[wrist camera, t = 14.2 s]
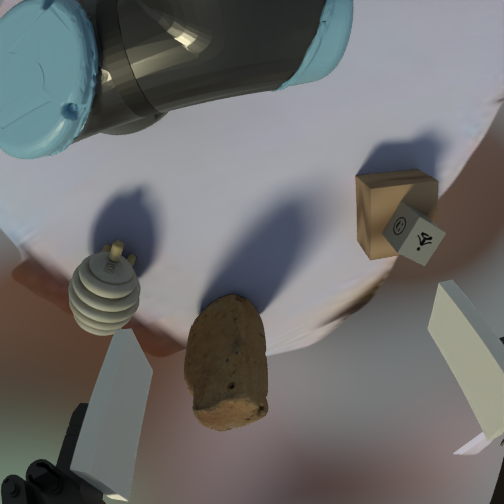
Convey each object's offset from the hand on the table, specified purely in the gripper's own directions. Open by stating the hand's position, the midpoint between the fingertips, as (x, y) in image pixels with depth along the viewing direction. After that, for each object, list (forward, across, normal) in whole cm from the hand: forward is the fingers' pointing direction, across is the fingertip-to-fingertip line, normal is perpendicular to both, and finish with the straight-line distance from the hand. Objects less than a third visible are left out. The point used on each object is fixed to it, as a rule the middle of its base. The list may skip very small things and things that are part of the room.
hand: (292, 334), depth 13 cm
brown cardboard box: (+31, +18, -9) cm, 37 cm away
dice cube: (+25, +18, -9) cm, 32 cm away
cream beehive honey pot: (+31, -23, -13) cm, 41 cm away
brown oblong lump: (+31, -8, -24) cm, 40 cm away
